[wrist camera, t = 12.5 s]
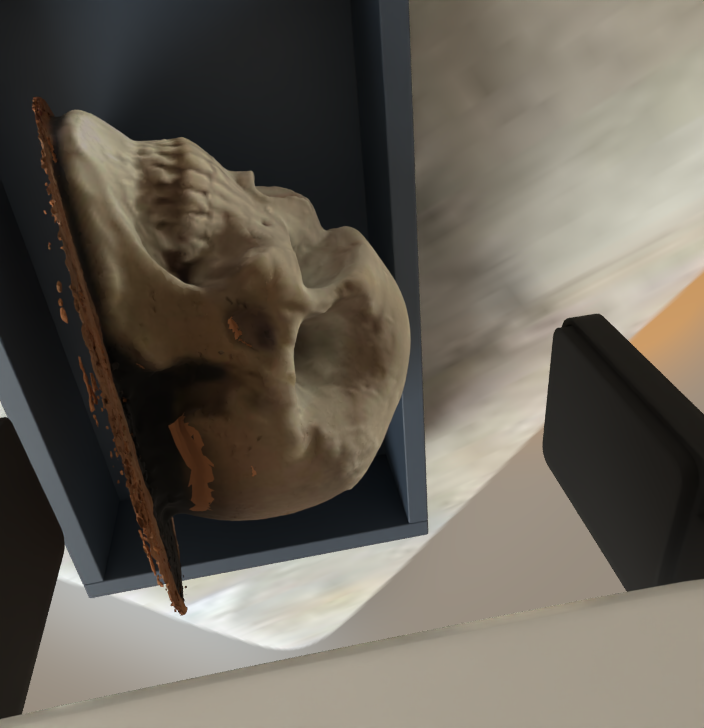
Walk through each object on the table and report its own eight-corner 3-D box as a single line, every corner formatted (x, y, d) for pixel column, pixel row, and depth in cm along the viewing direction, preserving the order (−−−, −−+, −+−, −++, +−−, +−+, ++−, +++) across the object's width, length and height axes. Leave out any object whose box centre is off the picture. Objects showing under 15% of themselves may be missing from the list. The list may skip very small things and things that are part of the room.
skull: (-3, 33, 8) (382, 11, 15) (-301, 186, 13) (97, 112, 21) (293, 755, 12) (475, 448, 20) (-24, 642, 17) (219, 437, 25)
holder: (-97, -29, 17) (-195, -29, 13) (366, -75, 18) (406, -86, 14) (109, 505, 26) (89, 599, 22) (399, 454, 27) (428, 534, 23)
